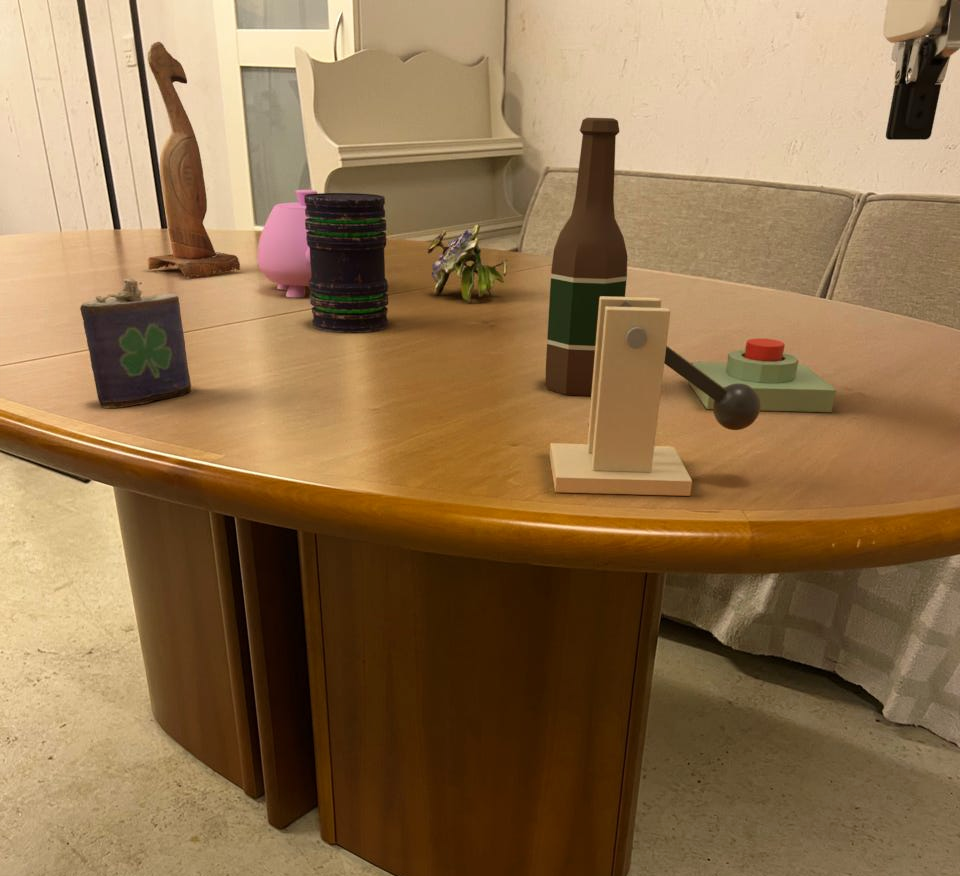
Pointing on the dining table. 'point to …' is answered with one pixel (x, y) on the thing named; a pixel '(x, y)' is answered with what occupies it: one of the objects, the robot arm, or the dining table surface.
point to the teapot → (286, 247)
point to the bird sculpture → (183, 181)
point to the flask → (136, 347)
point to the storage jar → (347, 261)
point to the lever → (718, 393)
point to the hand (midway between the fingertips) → (907, 139)
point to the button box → (771, 383)
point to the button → (764, 350)
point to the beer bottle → (585, 264)
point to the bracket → (624, 409)
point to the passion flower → (464, 264)
